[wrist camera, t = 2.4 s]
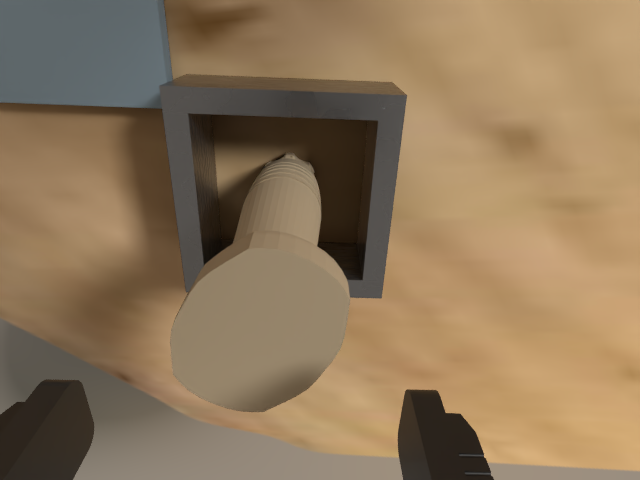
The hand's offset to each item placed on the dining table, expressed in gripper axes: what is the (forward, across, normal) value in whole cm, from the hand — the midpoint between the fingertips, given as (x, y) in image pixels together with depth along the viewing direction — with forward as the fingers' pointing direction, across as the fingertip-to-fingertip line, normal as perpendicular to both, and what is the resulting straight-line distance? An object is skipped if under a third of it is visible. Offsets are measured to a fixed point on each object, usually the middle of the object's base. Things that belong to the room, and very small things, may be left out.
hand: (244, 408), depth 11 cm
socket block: (+18, 0, 0) cm, 18 cm away
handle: (+18, 0, 0) cm, 18 cm away
